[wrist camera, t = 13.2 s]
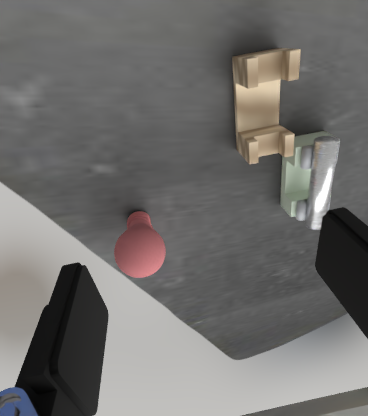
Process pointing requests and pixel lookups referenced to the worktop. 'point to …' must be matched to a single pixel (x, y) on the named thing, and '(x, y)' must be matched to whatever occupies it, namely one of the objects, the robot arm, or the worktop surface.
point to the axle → (321, 179)
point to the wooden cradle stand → (262, 101)
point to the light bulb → (139, 247)
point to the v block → (298, 175)
